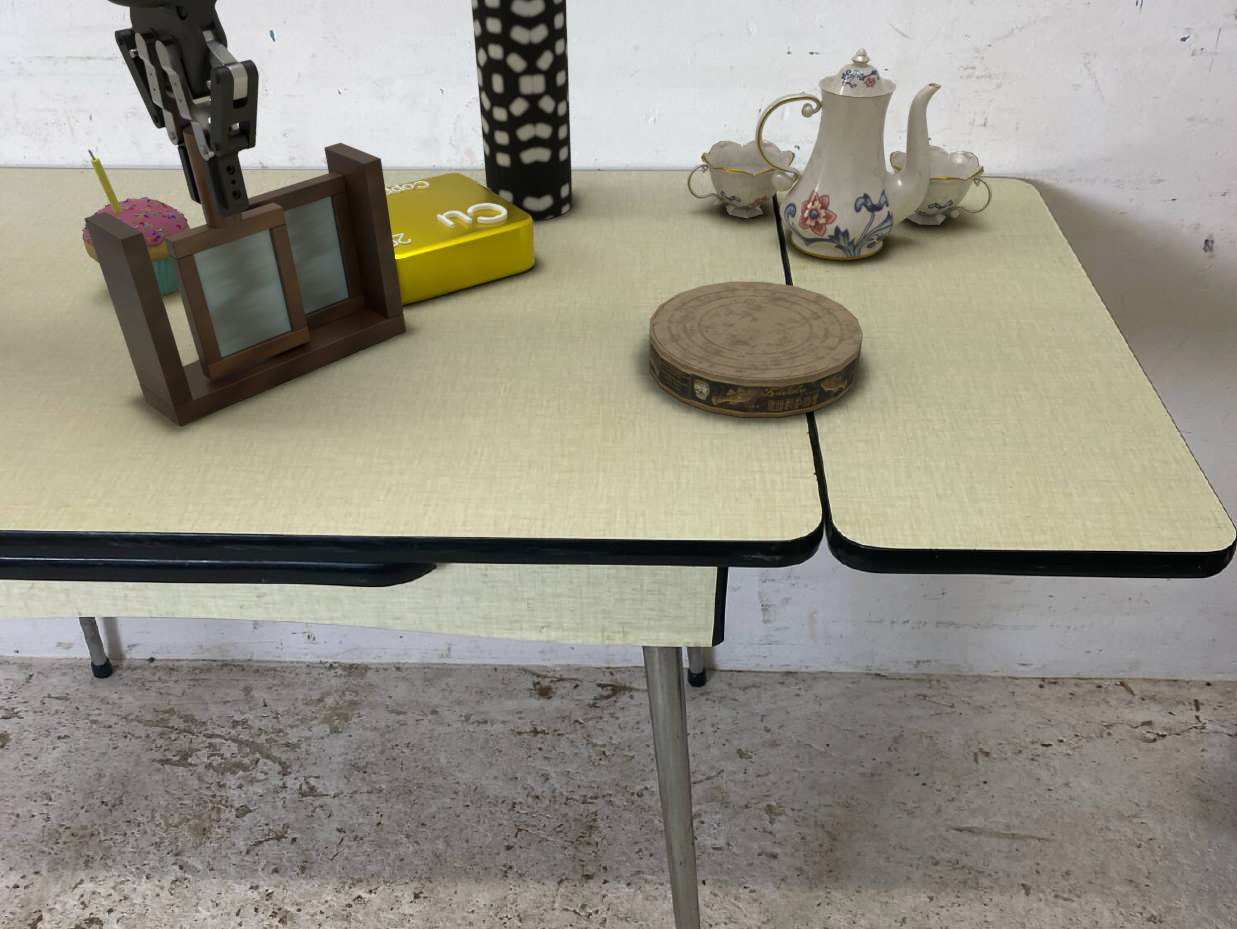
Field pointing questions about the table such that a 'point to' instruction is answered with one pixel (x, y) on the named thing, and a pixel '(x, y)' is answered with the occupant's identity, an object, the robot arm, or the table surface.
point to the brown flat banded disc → (754, 349)
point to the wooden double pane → (327, 276)
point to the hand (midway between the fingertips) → (221, 205)
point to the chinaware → (846, 169)
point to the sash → (236, 282)
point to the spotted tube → (525, 102)
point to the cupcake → (143, 227)
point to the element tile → (455, 236)
